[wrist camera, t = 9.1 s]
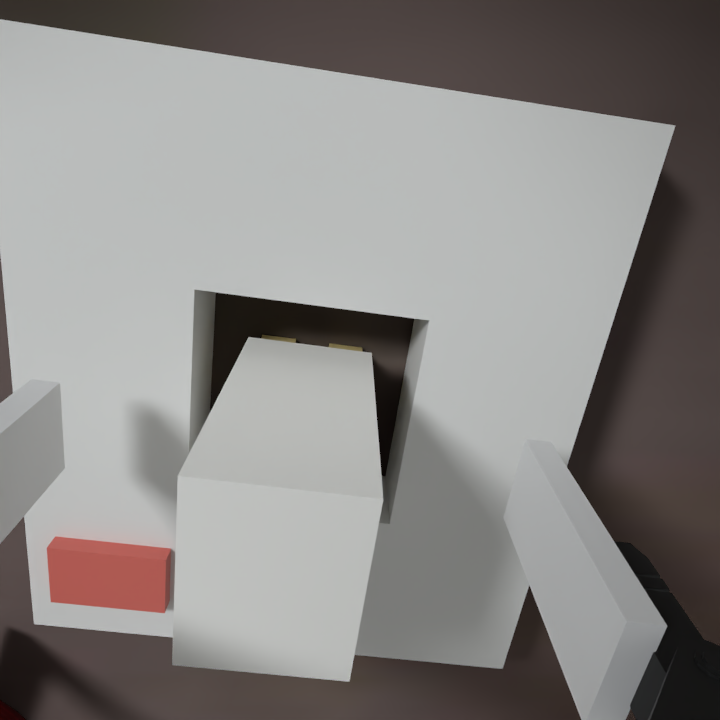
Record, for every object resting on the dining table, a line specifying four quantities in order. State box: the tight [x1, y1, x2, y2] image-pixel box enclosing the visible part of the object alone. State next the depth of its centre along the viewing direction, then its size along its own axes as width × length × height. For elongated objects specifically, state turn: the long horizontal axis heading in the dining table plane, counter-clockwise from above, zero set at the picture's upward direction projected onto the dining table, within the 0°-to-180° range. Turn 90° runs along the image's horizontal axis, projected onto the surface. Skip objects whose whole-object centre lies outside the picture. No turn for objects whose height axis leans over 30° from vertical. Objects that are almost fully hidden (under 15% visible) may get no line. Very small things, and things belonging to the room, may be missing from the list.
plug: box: [172, 335, 383, 682], centre depth 17 cm, size 5×4×10 cm
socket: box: [0, 19, 675, 669], centre depth 20 cm, size 20×18×4 cm
